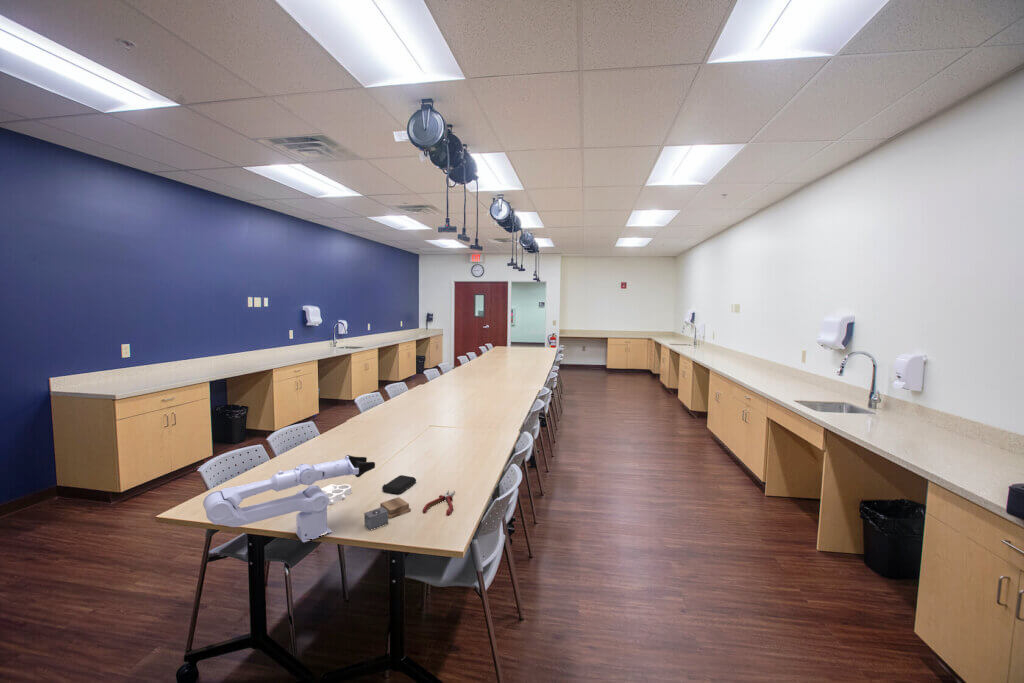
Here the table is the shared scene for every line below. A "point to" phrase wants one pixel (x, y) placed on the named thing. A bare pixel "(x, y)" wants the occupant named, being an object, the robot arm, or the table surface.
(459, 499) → the table surface
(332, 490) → the white brass knuckles
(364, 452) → the table surface
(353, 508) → the table surface
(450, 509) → the pliers
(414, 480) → the carrying case or bag
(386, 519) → the block
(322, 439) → the table surface
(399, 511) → the stand
